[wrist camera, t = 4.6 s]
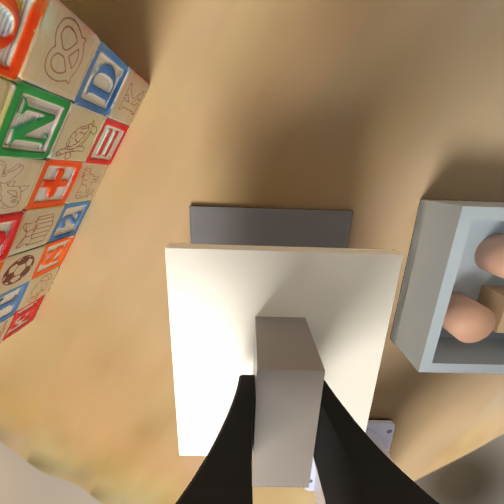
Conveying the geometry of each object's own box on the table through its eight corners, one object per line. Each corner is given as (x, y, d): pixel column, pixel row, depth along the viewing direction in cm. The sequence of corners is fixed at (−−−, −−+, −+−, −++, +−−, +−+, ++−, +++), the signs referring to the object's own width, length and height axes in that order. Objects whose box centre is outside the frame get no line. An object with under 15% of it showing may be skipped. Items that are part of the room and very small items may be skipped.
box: (502, 341, 23) (553, 375, 19) (390, 338, 23) (418, 372, 19) (552, 203, 19) (627, 211, 16) (420, 199, 19) (462, 206, 15)
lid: (351, 435, 17) (390, 538, 12) (185, 432, 17) (159, 535, 12) (387, 246, 13) (465, 288, 8) (173, 239, 13) (129, 279, 8)
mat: (329, 365, 24) (330, 368, 23) (196, 363, 23) (195, 365, 23) (351, 210, 20) (352, 211, 19) (190, 205, 19) (189, 206, 19)
